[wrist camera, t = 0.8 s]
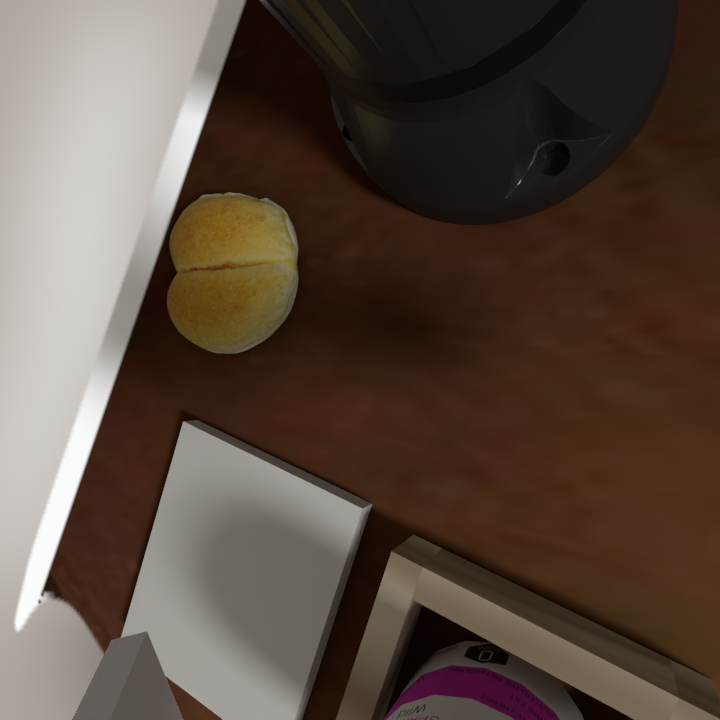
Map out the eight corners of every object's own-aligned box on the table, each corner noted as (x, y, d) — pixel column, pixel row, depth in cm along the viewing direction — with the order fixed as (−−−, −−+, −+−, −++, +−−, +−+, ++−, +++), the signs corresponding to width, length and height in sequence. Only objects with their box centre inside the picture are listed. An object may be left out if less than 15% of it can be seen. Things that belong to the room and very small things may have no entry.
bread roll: (185, 352, 34) (134, 347, 30) (195, 207, 34) (145, 185, 30) (301, 358, 30) (259, 354, 26) (312, 197, 30) (271, 171, 27)
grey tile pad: (197, 420, 33) (183, 421, 31) (372, 503, 28) (362, 508, 27) (135, 633, 34) (120, 641, 33) (292, 749, 29) (280, 763, 28)
